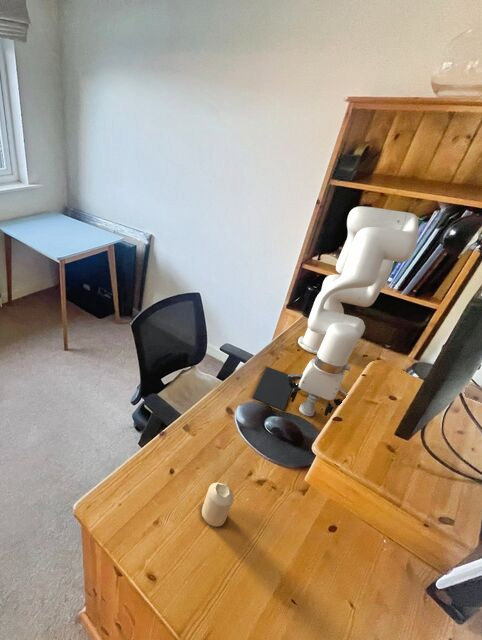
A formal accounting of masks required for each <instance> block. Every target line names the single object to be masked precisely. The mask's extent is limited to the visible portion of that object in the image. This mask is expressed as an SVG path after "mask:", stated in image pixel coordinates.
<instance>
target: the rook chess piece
mask: <svg viewBox="0 0 482 640" xmlns="http://www.w3.org/2000/svg"><path fill="white" fill-rule="evenodd" d="M318 400H320V397H319V396H316V395H313V394H311V393H308V396H306V400H305V401H304V402H303V403H301V404H300V406H299V407H298V410H299V412H300V413H301V415H303V416H305V417H313V416H314V415H315V411H316V409H315V405H316V403H317V402H318Z"/></svg>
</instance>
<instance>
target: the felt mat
mask: <svg viewBox="0 0 482 640" xmlns="http://www.w3.org/2000/svg"><path fill="white" fill-rule="evenodd" d="M288 375H289V374H288V373H286V372H282V371H279V370H278V369H277V370H276V369H275V368H272V367H268V366H266V367H265V370H264V372H263V374H262V376H261V378H260V380H259V383H258V384H257V387H256V389H255V391H254V393H253V395H252V399H254V400H257V401H258V402H261V403H264V404H266V405H268V406H271V407H274V408H276V409H278V410H280V411H283V412H284V411H285V409H286V406H287V404H288V400H289V398H290V395H291V392H292V388H291V387H290V385H289V382H288V378H287V377H288ZM293 381H294V382H295V379H294V380H293Z"/></svg>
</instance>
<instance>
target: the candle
mask: <svg viewBox="0 0 482 640" xmlns="http://www.w3.org/2000/svg"><path fill="white" fill-rule="evenodd" d="M234 496H235V495H234V493H233V491H232V489H231V488H230V487H229V486H228V485H227V484H224V483H223V482H213V483H211V484H210V485H209V487H208V489H207V492H206V496H205V499H204V501H203V505H202V507H201V516H202V518H203V520H204V521H205V522H206V523H207V524H209V526H211V527H216V528H217V527H221V526H223V525H224V524H225V522H226V521H227V517H228V515H229V513H230V510H231V507H232V505H233V502H234V500H235V497H234Z"/></svg>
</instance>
